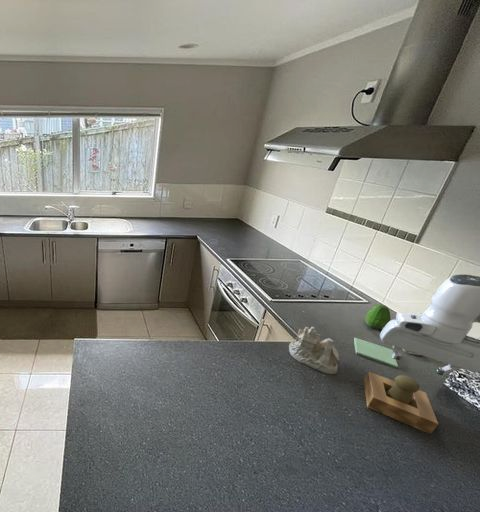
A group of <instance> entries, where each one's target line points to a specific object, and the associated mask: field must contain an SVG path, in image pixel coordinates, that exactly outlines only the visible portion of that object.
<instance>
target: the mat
mask: <svg viewBox="0 0 480 512" xmlns="http://www.w3.org/2000/svg"><path fill="white" fill-rule="evenodd" d="M353 343H354V350H355V354H356V355H357V356H361V357H364V358H366V359H369V360H372V361H374V362H378V363H381V364H384V365H387V366H390V367H392V368H395V369H398V367H399V365H398V361H397V360H396V359H393V358H392V355H393V353H394V350H393V348H388V347H386V346H383V345H379V344H376V343H374V342H370V341H367V340H364V339H361V338H358V337H353Z"/></svg>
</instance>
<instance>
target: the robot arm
mask: <svg viewBox="0 0 480 512" xmlns="http://www.w3.org/2000/svg"><path fill="white" fill-rule="evenodd" d="M430 299H431V300H430V305H429V306H428V308H426V309H425V310H424V311H423V313H417V312H403V311H402V312H401V311H400V312H399V311H398V312H396V314H395V318H394V319H391V321H389V322H388V323H387V324H386V326H385V327H384V328H382V330H381V331H380V333H379V339H380V340H381V342H382V343H383V344H385V345H389V346H391V347H392V350H393V352H394V353H393V355H392V358H393V359H396V361H401V359H402V357H403V356H402V353H401V352H399V351H400V350H402V349H405V350H408V351H411V352H414V353H417V354H420V355H419V356H422V357H426V358H429V359H432V360H435V361H439V362H442V363H445V364H447V365H445V366H437V368H436V369H435V373H436V375H439V376H443V377H446V376H447V374H448V373H451V372H454V371H457V370H458V369H463V370H465V371H469V372H472V373H478V372H480V339H479V338H476V337H473V336H469V335H468V334H469V333H470V331H471V330H472V329H473V324H474V323H479V324H480V276H478V275H474V274H473V275H472V274H454V275H450V276H449V277H448V278H447V279H445V280H444V281H443V282H442V284H440V286H439V287H438V288H437V289H436V291H435V293H434V294H433V296H432V297H431V298H430Z"/></svg>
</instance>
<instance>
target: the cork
mask: <svg viewBox="0 0 480 512" xmlns="http://www.w3.org/2000/svg"><path fill="white" fill-rule="evenodd" d="M394 381H395V384H394V385H393V386H392V387H391V388H390V389H389V391H388V392H387V393H386V396H387V397H390V398H392V399H395V400H397V401H400V402H402V403H405V404H407V405H409V404H410V401H411V398H412V395H413V393H414V392H417V391H418V390H420V384H419V382H418V381H416V380H415V379H414V378H412V377H410V376H407V375H403V374H400V375H397V376H396V377H395V378H394Z"/></svg>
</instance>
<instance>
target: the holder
mask: <svg viewBox="0 0 480 512" xmlns="http://www.w3.org/2000/svg"><path fill="white" fill-rule="evenodd" d="M362 382H363V389H364V396H365V400H366V407H367V408H368V409H370V410H373V411H375V412H377V413H380V414H382V415H384V416H387V417H389V418H391V419H394V420H396V421H398V422H401V423H403V424H405V425H408V426H409V427H412V428H414V429H417V430H419V431H422V432H424V433H426V434H429V435H432V433H433V432H434V431H435V429H436V428H437V427H438V425H439V421H438V420H437V417H436V415H435V412H434V410H433V407H432V405H431V402H430V400H429V397H428V395H427V392H425V391H422V390H421V389H419V390H418V391H417V392H414V393H413V395H412V398H411V401H410V404H409V405H407V404H405V403H402V402H400V401H397V400H395V399H392V398H390V397H387V396H386V393H387V392H388V391H389V389H390V388H391V387H392V386H393V385H394V384H395V380H393V379H391V378H387V377H385V376H382V375H379V374H376V373H374V372H371V371H369V370H368V371H367V373H366V374H365V376H364V378H363V381H362Z"/></svg>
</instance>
